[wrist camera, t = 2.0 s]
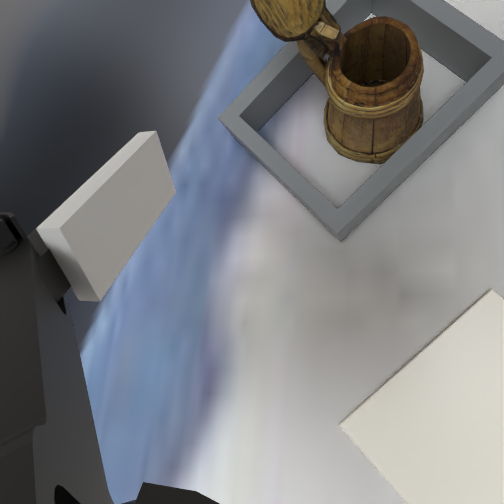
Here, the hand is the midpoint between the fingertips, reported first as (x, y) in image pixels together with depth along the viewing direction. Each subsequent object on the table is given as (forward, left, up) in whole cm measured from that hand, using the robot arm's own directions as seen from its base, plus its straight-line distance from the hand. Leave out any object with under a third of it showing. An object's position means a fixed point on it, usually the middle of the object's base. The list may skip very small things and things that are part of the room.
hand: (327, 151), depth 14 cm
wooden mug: (-9, -9, -25) cm, 28 cm away
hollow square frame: (-9, -9, -25) cm, 28 cm away
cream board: (+4, +20, -25) cm, 32 cm away
